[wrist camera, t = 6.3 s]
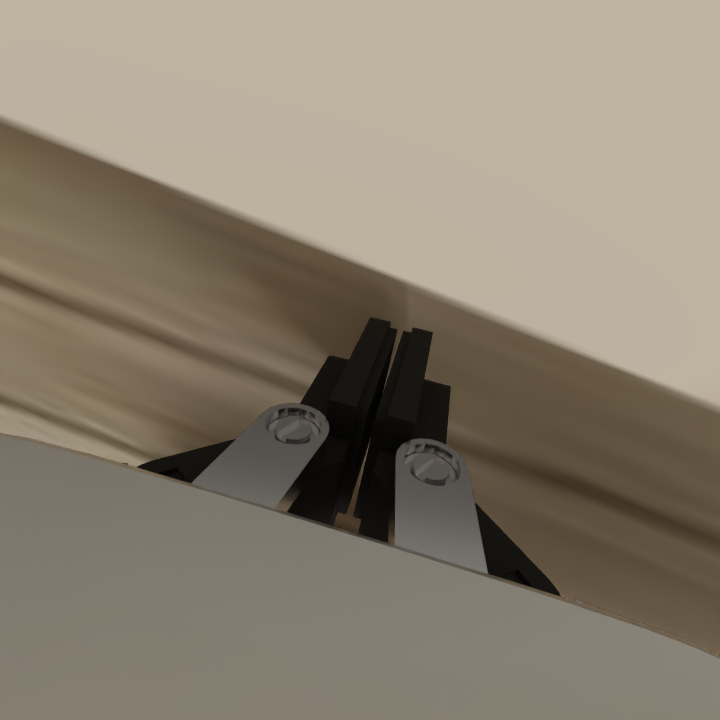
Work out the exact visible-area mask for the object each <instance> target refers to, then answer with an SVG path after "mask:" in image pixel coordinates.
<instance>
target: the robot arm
mask: <svg viewBox="0 0 720 720" xmlns="http://www.w3.org/2000/svg"><path fill="white" fill-rule="evenodd" d="M390 325H391V322H389V321H385V320H380V319H376V318H372V317H371V318H370V320H369V321H368V323H367V325H366V327H365V329H364V331H363V333H362V335H361V337H360V339H359V341H358V343H357V345H356V347H355V349H354V351H353V353H352V355H351V357H350V359H349V360H347V359H343V358H339V357H335V356H331V355H330V356H329V357H328V358H327V360H326V361H325V363H324V365H323V366H322V368H321V370H320V371H319V373H318V375H317V376H316V378H315V380H314V381H313V383H312V385H311V386H310V388H309V390H308V391H307V393H306V395H305V396H304V398H303V399H302V401H301V403H300V404H296V403H286V404H279V405H276V406H274V407H271V408H269V409H268V410H266V411H265V412H263V413H262V414H261V415H260V416H259V417H258V418H257V419H256V420H255V421H254V422H253V423H252V424H251V425H250V426H249V427H248V428H247V429H246V430H245V431H244V432H243V433H242V434H241V435H240V436H239V437H238V438H237V439H234V440H230V441H226V442H222V443H218V444H214V445H211V446H207V447H203V448H199V449H195V450H191V451H187V452H184V453H180V454H176V455H172V456H168V457H164V458H161V459H157V460H153V461H150V462H147V463H145V464H142V465H140V466H138V467H133V466H130V465H128V463H119V462H116V461H113V460H109V459H106V458H102V457H99V456H95V455H92V454H88V453H85V452H81V451H77V450H73V449H69V448H65V447H61V446H57V445H53V444H49V443H46V442H42V441H38V440H34V439H30V438H25V437H20V436H14V435H9V434H3V433H0V720H720V655H718V654H716V653H714V652H712V651H710V650H708V649H706V648H703V647H701V646H699V645H696V644H694V643H691V642H689V641H687V640H684V639H682V638H679V637H677V636H675V635H672V634H670V633H667V632H664V631H662V630H659V629H656V628H653V627H650V626H647V625H644V624H641V623H638V622H636V621H633V620H630V619H627V618H624V617H621V616H618V615H615V614H612V613H610V612H607V611H604V610H601V609H598V608H595V607H592V606H589V605H586V604H584V603H582V602H580V601H578V600H576V599H575V600H574V601H573V600H569V599H566V598H563V597H561V596H560V594H559V592H558V590H557V589H556V588H555V587H554V585H553V584H552V583H551V581H550V580H549V579H548V578H547V577H546V576H545V575H544V574H543V573H542V572H541V571H540V570H539V569H538V568H537V566H536V565H535V564H534V563H533V562H532V561H531V560H530V559H529V558H528V557H527V556H526V555H525V554H524V553H523V552H522V551H521V550H520V549H519V548H518V547H517V546H516V545H515V544H514V542H513V541H512V540H511V539H510V538H509V537H508V536H507V535H506V534H505V533H504V532H503V531H502V530H501V529H500V528H499V527H498V526H497V525H496V524H495V523H494V522H493V521H492V520H491V518H490V517H489V516H488V515H487V514H486V513H485V512H484V511H483V510H482V509H481V508H480V507H479V506H478V505H477V504H476V503H475V502H474V497H473V491H472V486H471V481H470V475H469V470H468V467H467V465H466V462H465V461H464V459H463V458H462V457H461V456H460V454H459V453H457V452H456V451H455V450H454V449H452V448H451V447H449V446H447V445H446V437H447V425H448V414H449V402H450V391H451V387H450V386H448V385H444V384H440V383H436V382H432V381H428V380H424V376H425V371H426V366H427V361H428V355H429V350H430V345H431V339H432V334H433V332H429V331H425V330H421V329H417V328H412V332H407V331H403V334H402V337H401V340H400V343H399V346H398V349H397V352H396V355H395V358H394V361H393V364H392V367H391V370H390V373H389V377H388V380H387V383H386V386H385V382H386V377H387V373H388V369H389V364H390V360H391V355H392V351H393V347H394V342H395V338H396V333H397V329H395V328H390ZM384 386H385V389H384ZM383 390H384V392H383ZM370 439H371V440H370ZM369 442H370V444H369ZM368 445H369V448H368ZM367 448H368V453H367V457H366V462H365V466H364V471H363V475H362V479H361V484H360V488H359V493H358V497H357V502H356V506H355V510H354V515H353V517H356V518H359V519H361V523H360V527H359V534H357V533H353V532H350V531H347V530H344V529H340V528H337V527H334V526H333V525H334V522H335V519H336V516H337V513H338V512H339V513H343V514H346V513H347V510H348V507H349V504H350V501H351V498H352V495H353V492H354V489H355V485H356V482H357V479H358V476H359V473H360V470H361V467H362V464H363V460H364V457H365V454H366V451H367ZM330 525H331V526H330Z"/></svg>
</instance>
